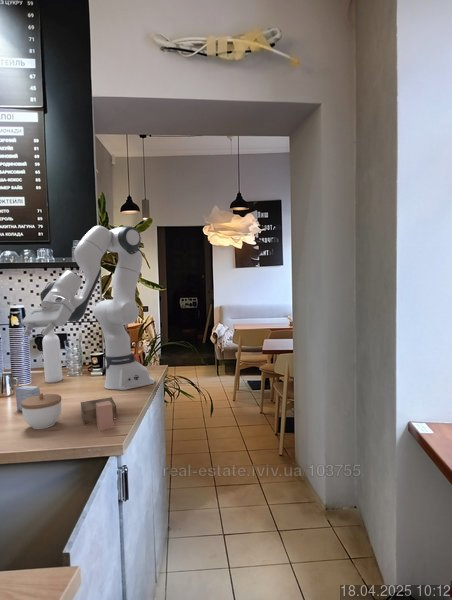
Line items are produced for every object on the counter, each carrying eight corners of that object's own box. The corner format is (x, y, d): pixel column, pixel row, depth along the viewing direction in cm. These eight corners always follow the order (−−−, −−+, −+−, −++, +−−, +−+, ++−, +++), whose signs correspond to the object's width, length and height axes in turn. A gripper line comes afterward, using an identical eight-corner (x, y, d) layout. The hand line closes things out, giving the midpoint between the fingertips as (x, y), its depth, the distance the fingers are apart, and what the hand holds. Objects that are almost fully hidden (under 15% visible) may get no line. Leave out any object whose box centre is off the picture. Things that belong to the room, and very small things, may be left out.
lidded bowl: (22, 435, 136) (19, 401, 135) (23, 423, 148) (21, 392, 147) (64, 427, 141) (61, 395, 140) (62, 416, 152) (60, 386, 152)
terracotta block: (110, 423, 143) (109, 400, 142) (113, 428, 139) (112, 404, 138) (97, 426, 141) (95, 403, 140) (99, 430, 137) (97, 406, 136)
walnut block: (112, 410, 158) (111, 397, 158) (117, 419, 148) (116, 405, 147) (81, 415, 154) (80, 402, 153) (84, 425, 143) (83, 411, 143)
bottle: (41, 381, 205) (37, 320, 203) (56, 377, 212) (51, 318, 210) (51, 383, 201) (46, 320, 199) (65, 379, 207) (61, 318, 205)
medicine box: (41, 408, 163) (40, 386, 163) (33, 412, 159) (31, 389, 158) (25, 407, 166) (24, 385, 165) (16, 410, 162) (14, 388, 161)
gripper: (30, 302, 162) (9, 330, 153) (67, 297, 152) (47, 328, 143) (41, 312, 166) (21, 341, 157) (78, 309, 156) (59, 339, 147)
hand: (34, 334), depth 150 cm, fingers open, 8 cm apart
